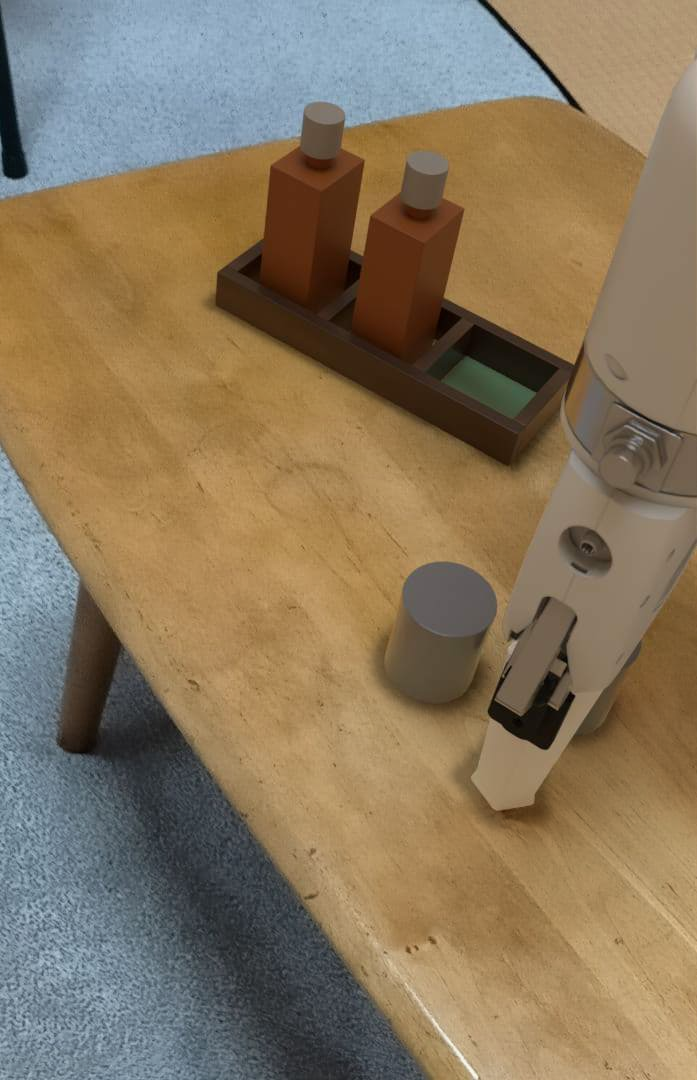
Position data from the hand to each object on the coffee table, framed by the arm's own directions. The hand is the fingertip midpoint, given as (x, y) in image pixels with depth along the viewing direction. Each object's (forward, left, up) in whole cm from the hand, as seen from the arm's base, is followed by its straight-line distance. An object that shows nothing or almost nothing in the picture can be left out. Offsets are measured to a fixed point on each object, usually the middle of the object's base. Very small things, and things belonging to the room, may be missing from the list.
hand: (547, 688), depth 57 cm
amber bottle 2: (+23, -25, -9) cm, 35 cm away
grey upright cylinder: (+7, -4, -10) cm, 13 cm away
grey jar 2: (0, -7, -10) cm, 12 cm away
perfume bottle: (0, 0, -10) cm, 10 cm away
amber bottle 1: (+31, -25, -9) cm, 40 cm away
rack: (+23, -25, -10) cm, 35 cm away
